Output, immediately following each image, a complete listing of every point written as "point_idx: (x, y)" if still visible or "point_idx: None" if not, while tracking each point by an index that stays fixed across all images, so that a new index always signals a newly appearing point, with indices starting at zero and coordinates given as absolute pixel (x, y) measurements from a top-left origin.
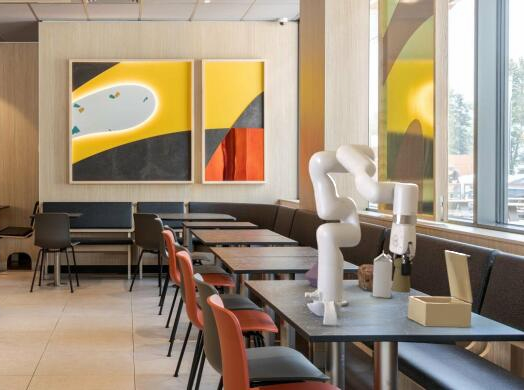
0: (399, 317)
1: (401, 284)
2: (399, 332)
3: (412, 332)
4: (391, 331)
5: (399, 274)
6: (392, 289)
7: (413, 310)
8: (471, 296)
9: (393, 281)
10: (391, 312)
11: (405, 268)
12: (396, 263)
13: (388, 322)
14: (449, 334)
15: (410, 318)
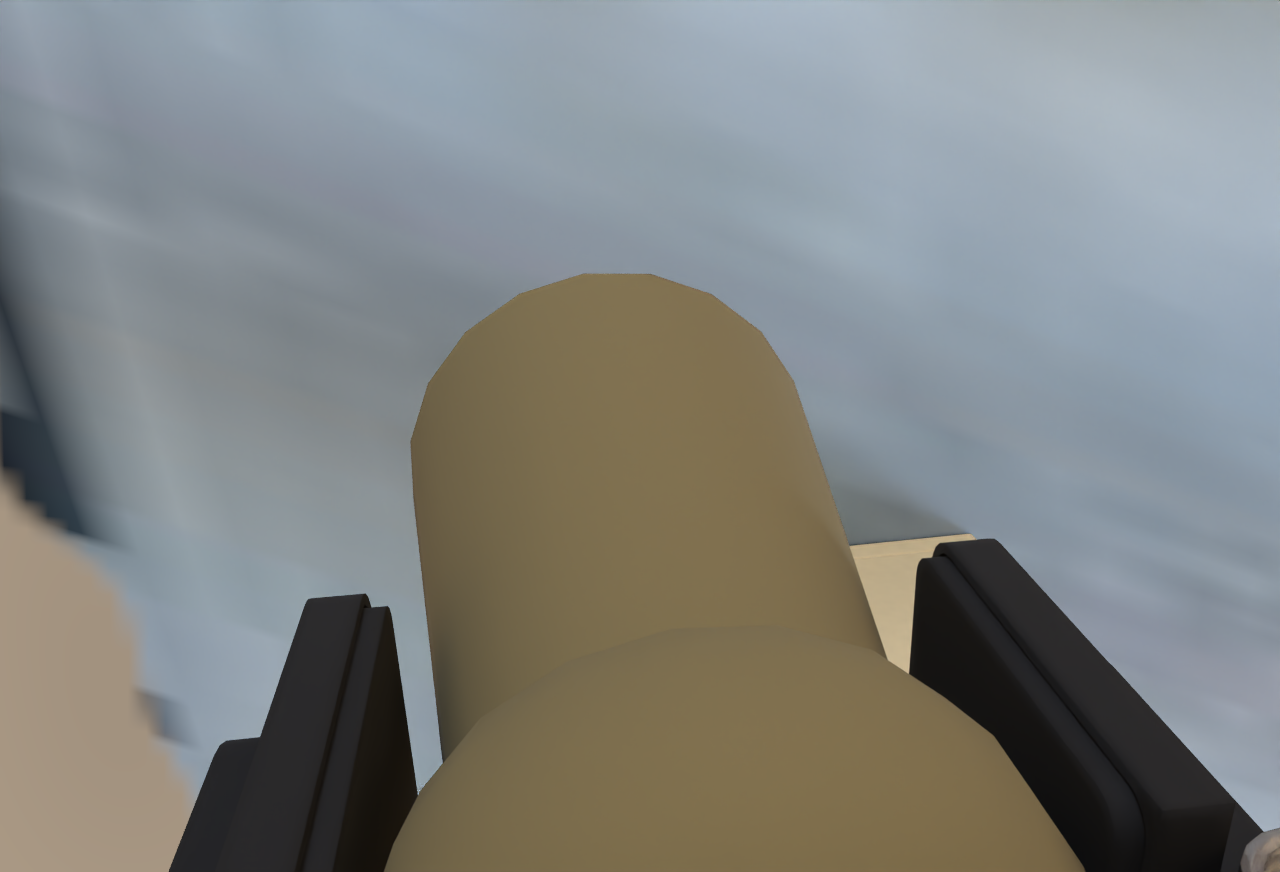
0: (991, 440)
1: (428, 491)
2: (96, 117)
3: (151, 304)
4: (128, 16)
5: (481, 580)
6: (587, 284)
7: (880, 606)
8: None
9: (633, 366)
10: (1254, 439)
11: (175, 870)
12: (571, 734)
13: (702, 190)
14: (170, 696)
15: (907, 541)
